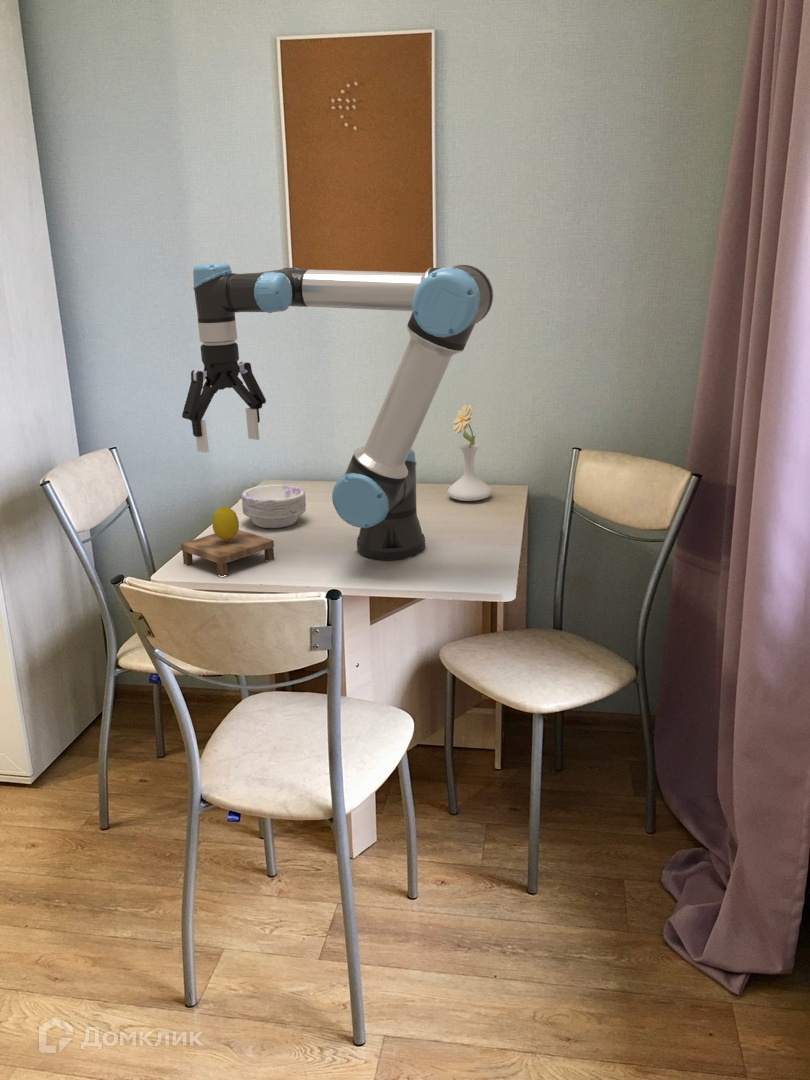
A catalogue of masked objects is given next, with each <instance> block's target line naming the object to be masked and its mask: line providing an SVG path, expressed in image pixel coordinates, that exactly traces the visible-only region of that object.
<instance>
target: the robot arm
mask: <svg viewBox="0 0 810 1080" xmlns="http://www.w3.org/2000/svg"><path fill="white" fill-rule="evenodd" d="M192 273H193V275H192V277H193V288H192V289H193V292H194V298H195V306H196V313H197V315H196V316H197V324H198V325H197V326H198V334H199V335H198V336H199V337H198V338H199V342H201V345H200V355H201V362H202V363H203V370H191V373H190V385H189V388H188V392H187V396H186V400H185V404H184V407H183V411H182V415H181V417H182V418H183V419H186V420H190V422H191V427H192V428H191V429H192V435H193V437H195V439H196V448H197V452H200V453H205V454H206V453H209V452H210V451H209V441H208V431H207V424H206V420H205V419H204V420H203V418H204V415H205V413H206V412H207V409H208V408H209V406H210V403H211V402H212V400H213V398H214V396H215V394H216V393H218V391H220V390H222V391H223V390H224V389H233V390H234V391H235V392H236V394H238V396H239V397H240V398H241V400H243V401H244V403H245V404H246V405H247V406H248V407H247V408H245V416H246V427H247V437H248V439H249V440H253V441H254V440H255V441H257V440H260V432H259V431H260V430H259V424H260V421H261V419H260V409H262V408H263V405H265V404H266V403H267V399H266V397H265V395H264V393H263V391H262V389H261V387H260V386H259V383H258V382H257V380H256V377H255V376H254V373H253V370H252V365H251V363H250V362H245V361H240V362H239V363H238V361H239V360H240V356H239V355H240V353H239V344H238V343H237V342H235V341H237V340H238V331H237V321H236V313H268V314H272V313H277V312H279V313H280V312H285V311H287V310H288V309H289V307H301V308H307V307H308V308H309V307H312V308H313V307H314V308H331V309H350V310H351V309H352V310H353V309H354V310H356V309H357V310H359V309H360V310H375V311H377V310H379V311H395V312H396V311H399V312H412V313H411V315H410V318H409V319H408V323H407V326H406V329H407V331H408V333H409V336H410V339H409V341H408V342H407V345H406V348H405V350H404V352H403V355H402V357H401V360H400V363H399V365H398V367H397V370H396V372H395V374H394V376H393V378H392V381H391V384H390V386H389V388H388V390H387V393H386V396H385V399H384V401H383V403H382V404H381V407H380V409H379V412H378V414H377V416H376V419H375V422H374V424H373V427H372V429H371V431H370V433H369V436H368V438H367V441H366V442H365V445H364V446H363V445H362V446H361V447H360V446H359V447H357V448H356V449H355V450H354V452H353V454H352V457H351V458H350V460H349V463H348V466H347V469H346V470H345V472H344V474H343V475H342V476H341V477H340V478H338V480H337V481H336V483H335V485H334V487H333V489H332V494H331V499H332V500H331V501H332V505H333V507H334V509H335V511H336V514H338V516H339V517H340V518H341V519H342V520H343V522H345V523H347V524H348V525H350V526H352V527H355V528H360V529H359V533H358V534H359V535H358V536H357V538H356V551H357V553H358V554H359V555H361V556H363V557H365V558H369V559H373V560H381V561H393V560H403V559H410V558H413V557H416V556H418V555H421V554H422V553H424V552H425V550H426V537H425V535H424V533H423V531H422V527H421V523H420V520H419V518H418V512H417V509H418V508H417V467H416V466H417V461H416V453H415V451H414V449H412V447H413V445H414V442H415V440H416V438H417V435H418V434H419V432H420V430H421V427H422V426H423V423H424V420H425V419H426V416H427V413H428V411H429V410H430V406H431V405H432V402H433V399H434V398H435V396H436V393H437V391H438V388H439V387H440V384H441V382H442V380H443V377H444V375H445V373H446V370H447V368H448V366H449V364H450V363H451V360H452V357H453V356H454V355H457V354H459V353H463V352H464V350H465V347H466V345H467V343H468V341H469V339H470V336H471V334H472V332H473V330H474V328H475V325H476V324H478V323H479V322H480V321H482V320H483V319H484V318H486V316H487V315H488V313H489V312H490V311H491V308H492V305H493V300H494V290H493V285H492V283H491V281H490V278H488V276H487V275H486V274H485V273H484V272H483V271H482V270H481V269H479V268H477V267H474V266H472V265H469V264H460V265H459V264H458V265H453V266H449V267H429V268H428V269H427V270H426V271H425V272H408V271H407V272H405V271H404V272H403V271H375V270H373V271H372V270H367V271H366V270H342V269H341V270H335V269H301V268H297V267H284V268H280V269H277V270H269V271H267V270H266V271H262V272H261V271H260V272H249V273H248V272H247V273H234V272H233V271H232V269H231V265H230V264H229V263H225V262H223V263H221V262H220V263H219V262H218V263H216V262H215V263H203V264H196V265H195V266H194V268H193V272H192ZM239 374H240V377H241V378H242V380H243V381H242V380H241V379H240V378H239ZM244 384H245V385H246V386H245V385H244Z"/></svg>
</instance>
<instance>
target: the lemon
mask: <svg viewBox="0 0 810 1080" xmlns="http://www.w3.org/2000/svg"><path fill="white" fill-rule="evenodd" d="M238 530H240V522H239V517H238V516H237V513H236V512H235V510H233V508H230V507H227V506H226V505H223V506H221V507H220V508H219V509H217V510H216V511H215V512H214V514H213V516H212V531H213V534H216V536H217V537H219V538H220V539H223V540H224V541H226V542H229V541H230V539H232V538H233V537H235V536H236V534H237V532H238Z"/></svg>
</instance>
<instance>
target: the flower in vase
mask: <svg viewBox="0 0 810 1080" xmlns="http://www.w3.org/2000/svg"><path fill="white" fill-rule="evenodd" d="M473 415H474V410H473V406H472V405H471V404H470V403H469V404H468V405H467V404H465V405H464V406H462V407H461V409H459V410H457V414H456V416H455V417H456V418H455V419H454V420H453V427H452V431H453V432H455V435H459V434H460V433H461V434H462V436H463V438H464V439H465V440H466V441H468V442H469V443H463V444H460V445H459V447H458V448H459V449H460V450H461V452H462V454H463V458H464V473H463V475H462V476H461V477H460V478H459V479H458V480H456V481H455V482H453V483H452V484H451V485H450V487H448V490H447V495H448V496H449V497H450V498H451V499H454V500H457V501H465V502H474V501H480V500H485V499H486V498H488V497H489V498H490V496H491V494H492V493H493V491H492V489H491V487H490V486H489V485H488V484H487V483H486V482H484V481H483V480H482V479H480V478H479V477H478V476H477V475H476V473H475V467H474V466H475V465H474V464H475V456H476V452H477V450H478V449H479V448H480V445H479V444H476V442H475V440H476V439H475V438H476V435H474V432H473V429H472V427H471V425H470V423H471V422H472V418H473ZM468 427H469V429H470V432H471V435H470V434H469V433H468V432H467V431H466V429H467V428H468Z"/></svg>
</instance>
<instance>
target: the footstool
mask: <svg viewBox="0 0 810 1080" xmlns="http://www.w3.org/2000/svg"><path fill="white" fill-rule="evenodd" d="M180 546H181V547H180V548H181V551H182V560H183V565H185V564H186V565H185V566H189V564H190V565H193V564H194V560H193V558H194V557H193V555H194V556H196V557H200V558H202V559H205V560H207V561H211V562H213V563H216V570H217V576H218V575H220V576H224V575H227V576H228V567H227V566H228V565H227V564H228V563H230V562H233V561H236V560H239V559H242V558H245V557H248V556H251V555H254V554H256V553H260V552H262V551H264V560H265V561H267V562H271V561H274V560H275V553H274V548H275V541H274V539H272V538H268V537H264V536H261V535H257V534H253V533H251V532H248V531H245V530H241V529H238V532H237V534H236V536H235V537H233V538H232V539H230V541H229V542H226V541H224V540H223V539H220V538H219V537H217V536H216V534H215V533H212V534H209V535H206V536H201V537H199V538H195V539H193V540H189V541H186V542H183V543H180ZM192 563H193V564H192Z"/></svg>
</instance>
